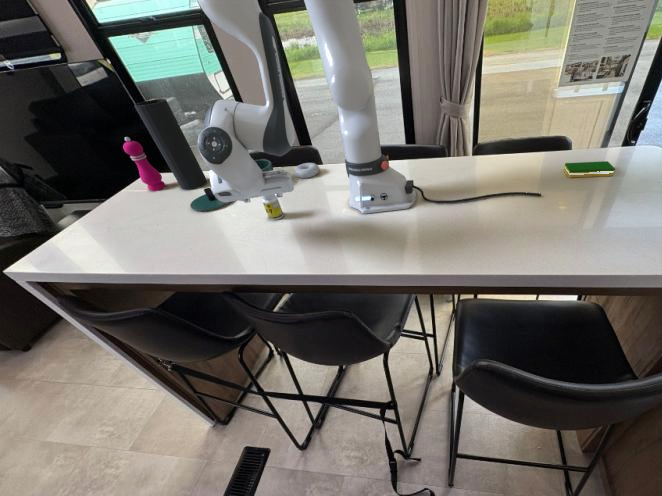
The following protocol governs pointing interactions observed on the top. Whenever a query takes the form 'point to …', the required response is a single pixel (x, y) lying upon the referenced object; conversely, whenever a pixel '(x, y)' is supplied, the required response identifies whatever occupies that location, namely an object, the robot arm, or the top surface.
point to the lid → (206, 201)
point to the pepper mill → (143, 165)
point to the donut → (306, 170)
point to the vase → (171, 142)
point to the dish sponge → (588, 168)
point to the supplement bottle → (272, 207)
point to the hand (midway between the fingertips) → (264, 197)
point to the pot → (264, 165)
